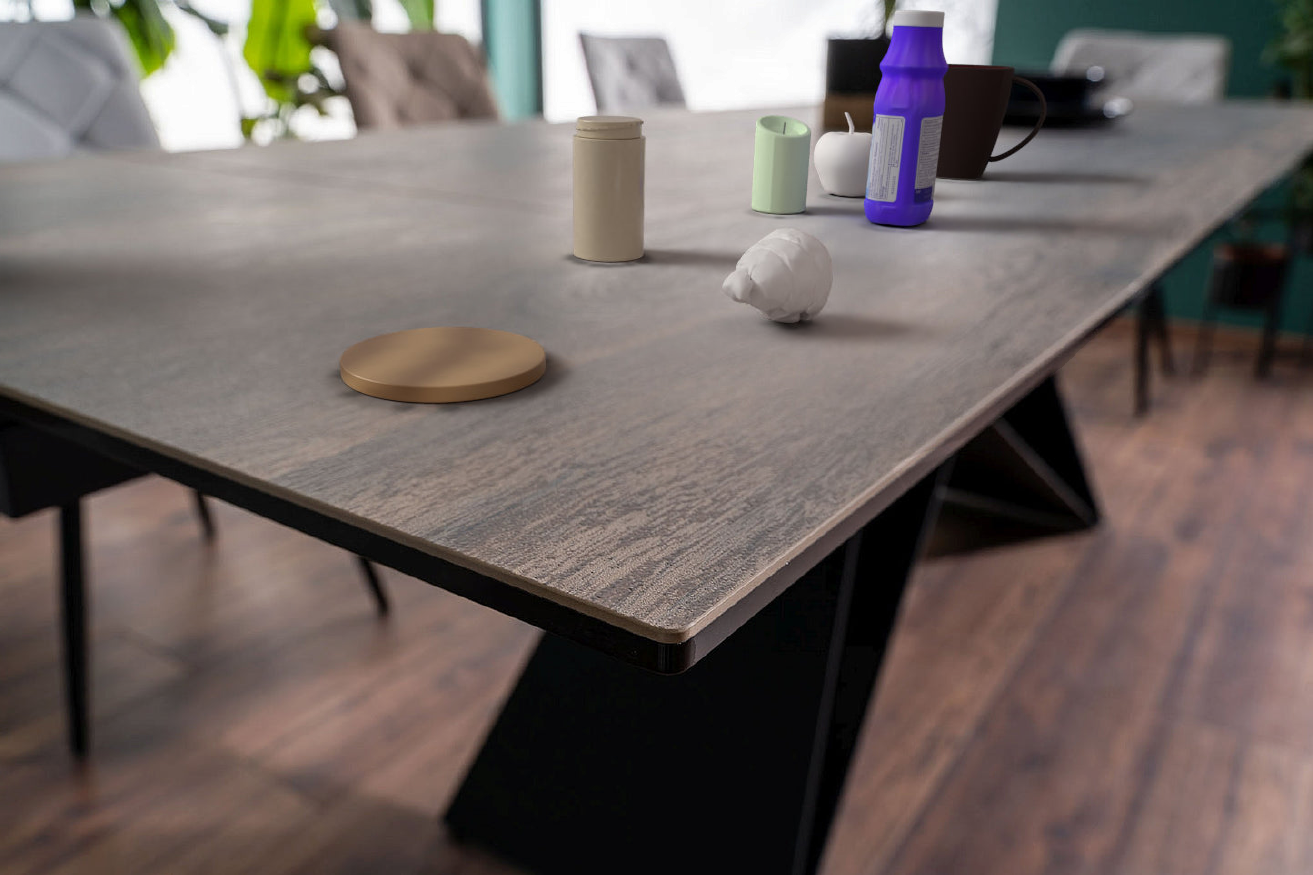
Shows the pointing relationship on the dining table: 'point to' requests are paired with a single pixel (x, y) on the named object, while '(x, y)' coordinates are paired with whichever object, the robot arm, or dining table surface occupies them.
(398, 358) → the coaster
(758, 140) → the candle
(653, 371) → the dining table surface
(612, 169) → the jar
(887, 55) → the bottle
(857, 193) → the plain white apple
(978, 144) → the cup
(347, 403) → the dining table surface
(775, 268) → the garlic bulb
